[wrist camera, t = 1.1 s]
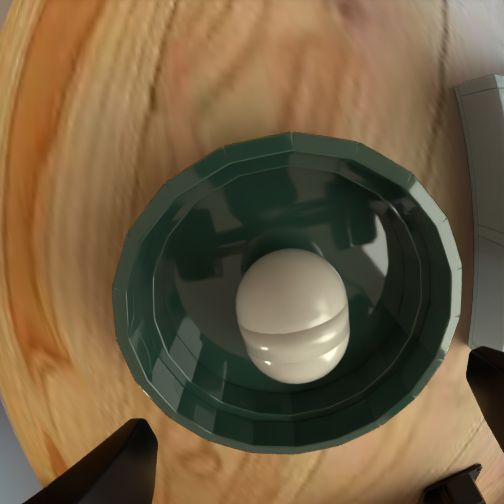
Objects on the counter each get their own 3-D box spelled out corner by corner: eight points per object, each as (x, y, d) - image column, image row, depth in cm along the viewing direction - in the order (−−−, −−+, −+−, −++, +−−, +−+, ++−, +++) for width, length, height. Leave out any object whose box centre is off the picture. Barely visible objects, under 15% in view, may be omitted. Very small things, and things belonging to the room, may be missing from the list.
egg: (341, 337, 15) (365, 391, 11) (255, 354, 15) (254, 414, 11) (326, 227, 13) (354, 255, 9) (228, 247, 14) (216, 284, 10)
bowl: (417, 368, 16) (446, 411, 12) (193, 413, 17) (181, 465, 13) (401, 123, 12) (447, 113, 9) (113, 184, 13) (67, 193, 10)
